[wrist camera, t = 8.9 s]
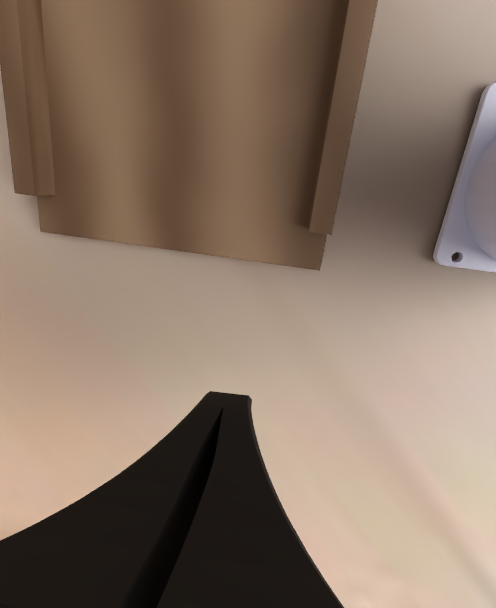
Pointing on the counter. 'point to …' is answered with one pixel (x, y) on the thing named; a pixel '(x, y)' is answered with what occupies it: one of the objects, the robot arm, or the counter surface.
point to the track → (185, 119)
